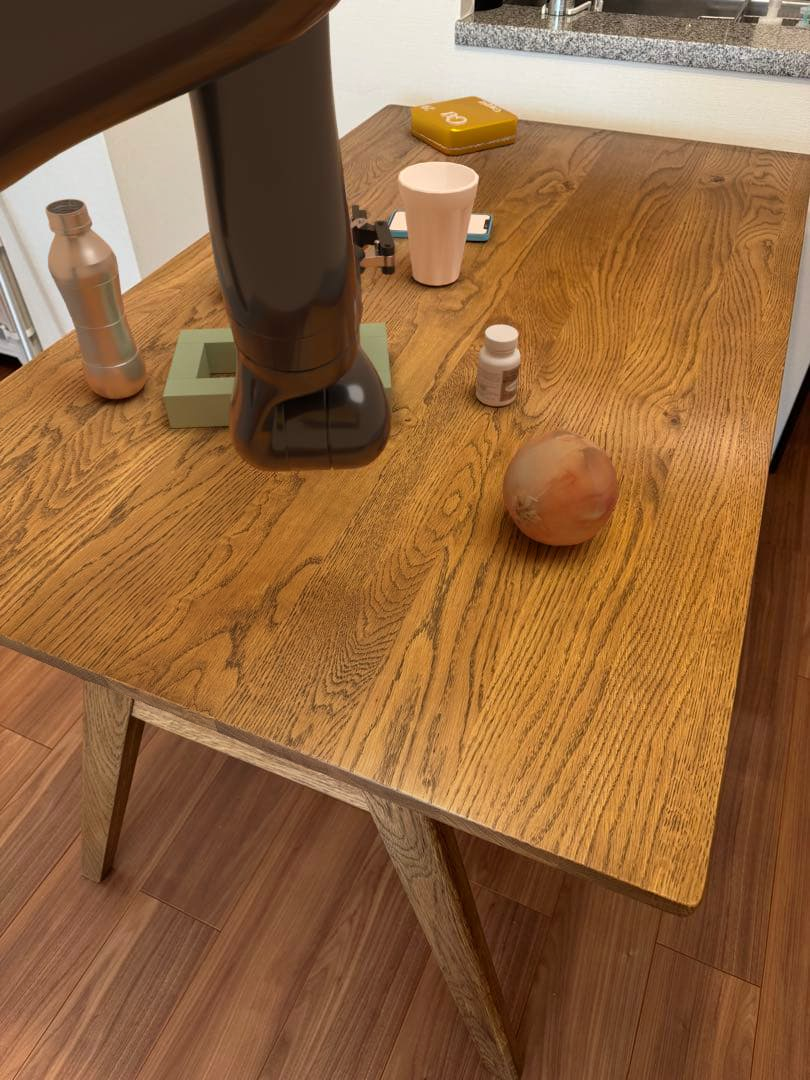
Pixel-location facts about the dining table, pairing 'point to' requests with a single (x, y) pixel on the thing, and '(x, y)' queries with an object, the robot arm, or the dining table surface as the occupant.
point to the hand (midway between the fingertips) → (318, 216)
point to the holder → (214, 352)
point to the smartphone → (476, 232)
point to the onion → (560, 488)
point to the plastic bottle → (94, 301)
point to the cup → (437, 217)
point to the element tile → (463, 124)
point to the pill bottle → (498, 366)
